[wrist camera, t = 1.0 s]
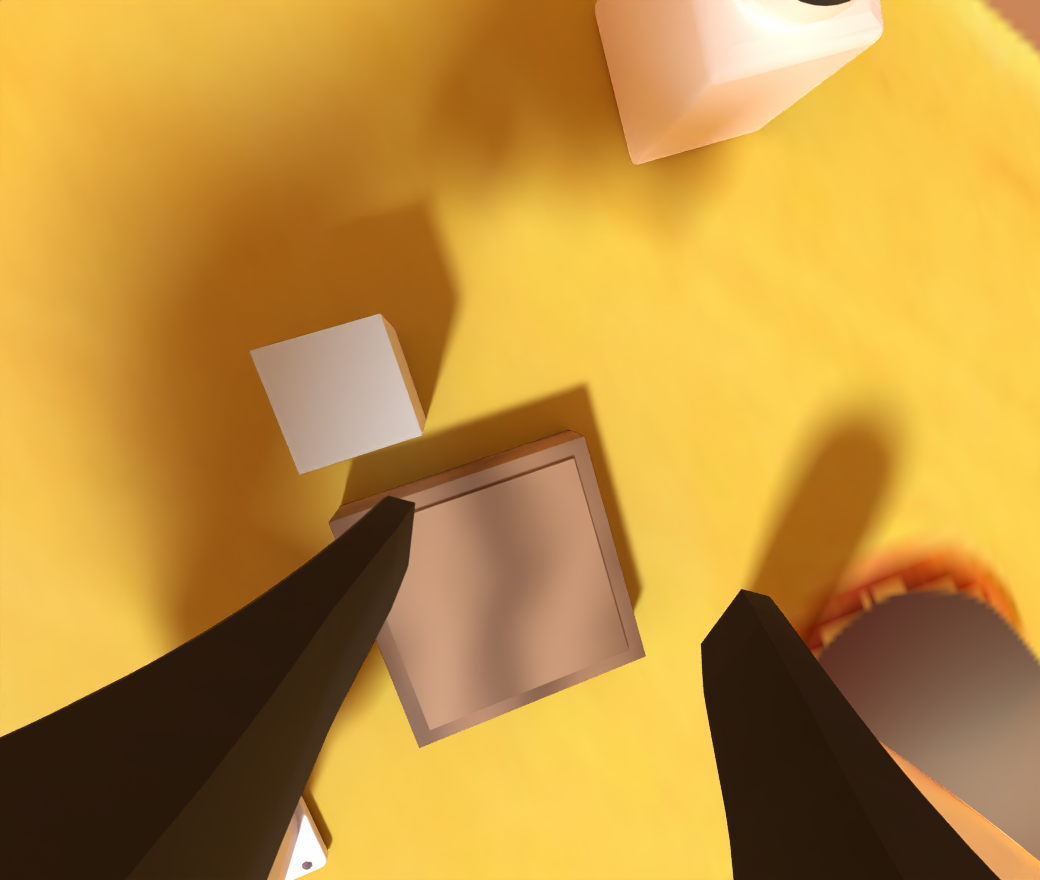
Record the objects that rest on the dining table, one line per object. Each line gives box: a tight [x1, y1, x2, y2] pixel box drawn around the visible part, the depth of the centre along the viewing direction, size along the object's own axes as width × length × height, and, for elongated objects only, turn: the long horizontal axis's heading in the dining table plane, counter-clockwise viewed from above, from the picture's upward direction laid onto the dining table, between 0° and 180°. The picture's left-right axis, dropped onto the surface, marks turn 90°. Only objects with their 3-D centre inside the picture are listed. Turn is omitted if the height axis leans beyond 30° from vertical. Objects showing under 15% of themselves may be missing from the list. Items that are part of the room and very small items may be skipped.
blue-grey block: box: [249, 314, 426, 475], centre depth 19 cm, size 4×4×6 cm
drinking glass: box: [878, 740, 1040, 880], centre depth 21 cm, size 7×7×15 cm
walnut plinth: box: [329, 430, 646, 748], centre depth 23 cm, size 12×12×3 cm
